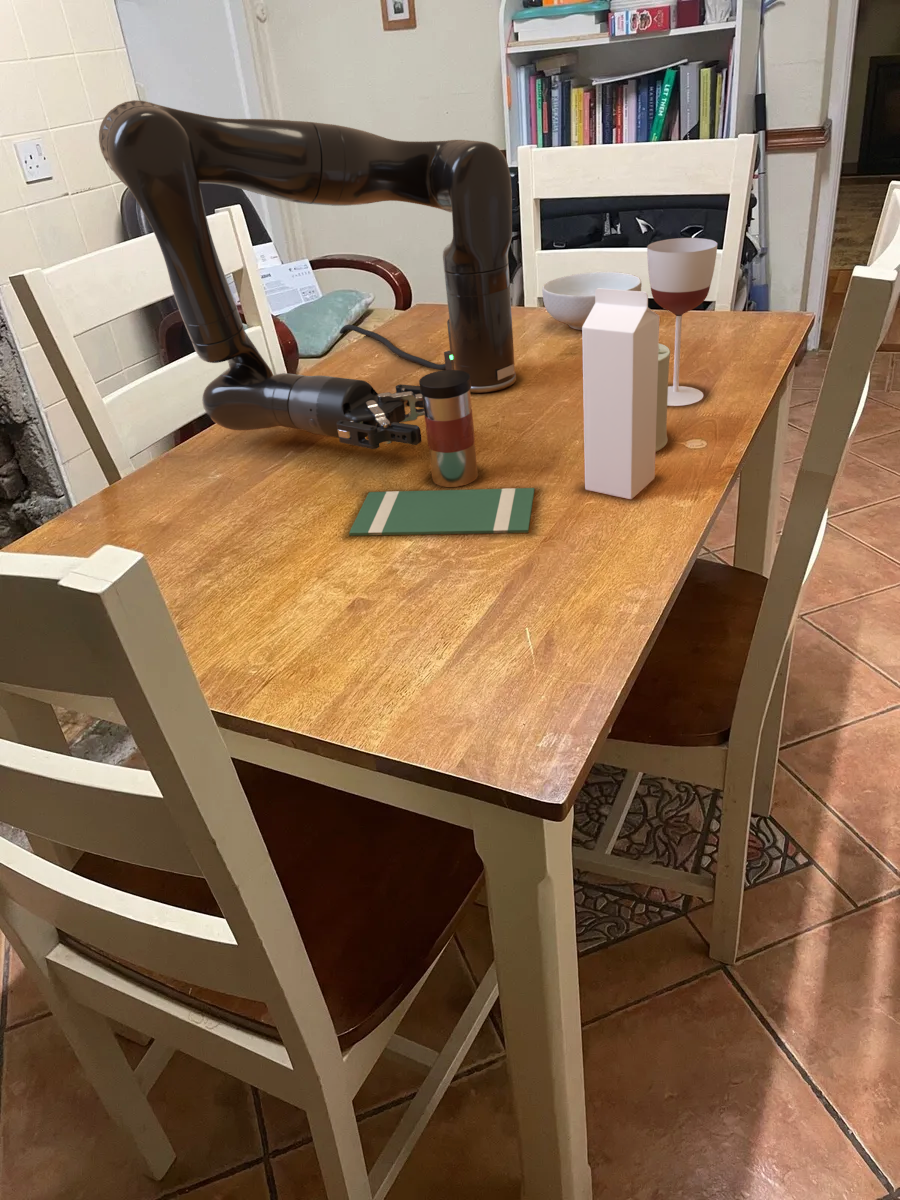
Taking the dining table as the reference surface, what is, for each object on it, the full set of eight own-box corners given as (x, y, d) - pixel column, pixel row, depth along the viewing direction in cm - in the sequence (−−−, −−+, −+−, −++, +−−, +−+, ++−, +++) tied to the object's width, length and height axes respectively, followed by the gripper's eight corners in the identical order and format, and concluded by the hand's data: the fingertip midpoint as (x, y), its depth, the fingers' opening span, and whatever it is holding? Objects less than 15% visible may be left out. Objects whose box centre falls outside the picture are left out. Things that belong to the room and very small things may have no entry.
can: (667, 456, 106) (671, 360, 99) (591, 457, 108) (589, 362, 101) (667, 426, 113) (670, 334, 107) (595, 427, 115) (594, 337, 109)
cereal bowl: (659, 316, 153) (660, 274, 149) (605, 344, 144) (604, 300, 140) (580, 305, 163) (579, 266, 160) (524, 331, 154) (522, 290, 150)
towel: (369, 494, 105) (368, 491, 105) (534, 490, 102) (534, 487, 102) (349, 535, 97) (348, 532, 97) (528, 533, 94) (528, 529, 94)
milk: (609, 470, 105) (608, 280, 93) (655, 479, 101) (661, 283, 89) (583, 490, 101) (580, 295, 89) (631, 500, 97) (634, 299, 85)
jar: (422, 477, 108) (409, 379, 101) (461, 462, 111) (451, 366, 104) (448, 492, 104) (436, 391, 97) (488, 477, 106) (480, 377, 99)
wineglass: (696, 409, 117) (705, 253, 106) (635, 402, 121) (637, 251, 110) (715, 388, 122) (725, 238, 111) (655, 382, 127) (660, 237, 116)
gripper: (291, 398, 105) (401, 414, 97) (361, 360, 115) (466, 371, 107) (303, 456, 109) (410, 475, 101) (369, 414, 119) (471, 428, 111)
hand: (439, 421), depth 104 cm, fingers open, 8 cm apart
